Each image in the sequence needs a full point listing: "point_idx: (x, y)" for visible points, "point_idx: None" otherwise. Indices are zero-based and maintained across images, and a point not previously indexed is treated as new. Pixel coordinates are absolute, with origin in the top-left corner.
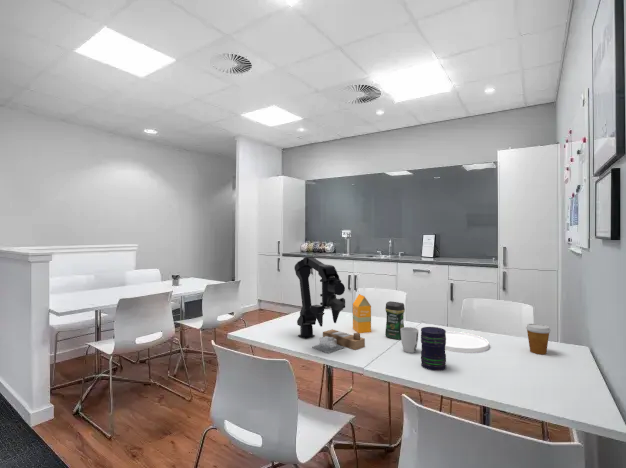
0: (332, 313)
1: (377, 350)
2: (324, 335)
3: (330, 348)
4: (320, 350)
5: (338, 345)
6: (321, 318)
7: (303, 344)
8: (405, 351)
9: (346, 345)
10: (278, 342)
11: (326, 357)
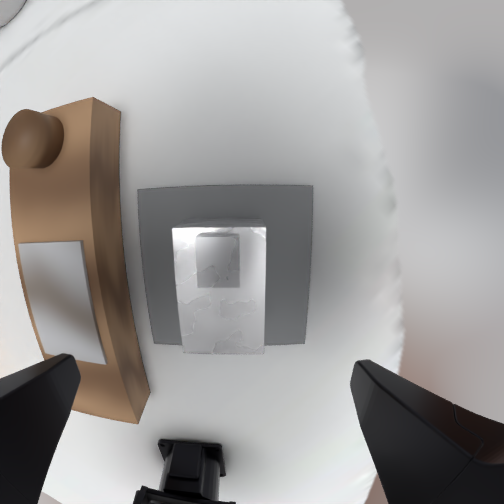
0: (37, 485)
1: (56, 50)
2: (139, 400)
3: (255, 218)
4: (309, 262)
5: (144, 245)
6: (471, 424)
7: (294, 402)
8: (24, 2)
9: (114, 191)
10: (346, 457)
11: (369, 142)
